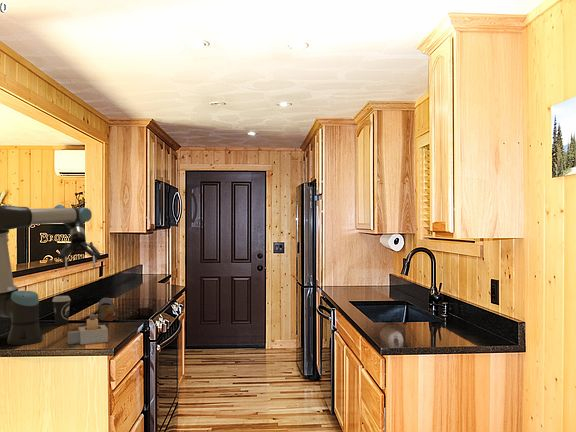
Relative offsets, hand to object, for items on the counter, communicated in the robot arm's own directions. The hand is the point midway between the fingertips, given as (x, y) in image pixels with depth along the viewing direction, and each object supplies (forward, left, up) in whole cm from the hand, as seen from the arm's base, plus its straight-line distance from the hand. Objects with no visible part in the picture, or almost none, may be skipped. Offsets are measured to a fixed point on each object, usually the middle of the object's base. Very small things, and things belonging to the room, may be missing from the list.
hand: (80, 267), depth 285 cm
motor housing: (-15, -22, -33) cm, 42 cm away
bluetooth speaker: (+38, +24, -33) cm, 55 cm away
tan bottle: (-13, -23, -33) cm, 42 cm away
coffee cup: (+8, +26, -33) cm, 43 cm away
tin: (+28, +12, -33) cm, 45 cm away
